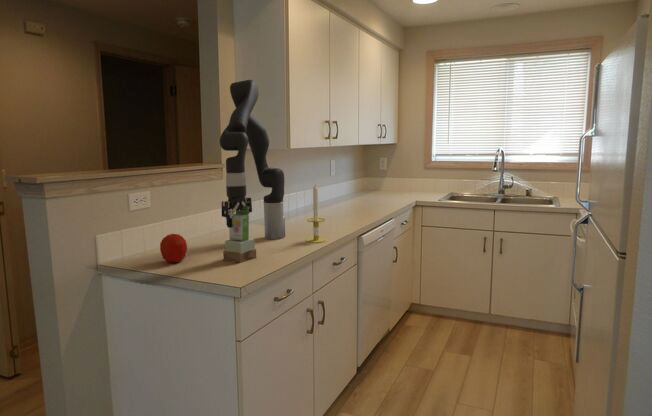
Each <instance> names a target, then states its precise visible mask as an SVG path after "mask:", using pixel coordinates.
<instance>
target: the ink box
mask: <svg viewBox="0 0 652 416" xmlns="http://www.w3.org/2000/svg"><path fill="white" fill-rule="evenodd" d="M249 214H250V213H249V206H246V211H241V210H238V211H235V213H234V214H233V216H232V223H233V227H232V228H228V229H229V237H228V238H229V239H228V240H230V239H233V240H240V241H246V240H249V232H250V231H249V229H250V228H249V227H250V215H249Z"/></svg>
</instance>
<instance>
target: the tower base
mask: <svg viewBox="0 0 652 416" xmlns="http://www.w3.org/2000/svg"><path fill="white" fill-rule="evenodd" d="M222 253H223V261H226V262H232V263H238V264H242V263H244V262H248V261H252V260H255V259H257V249H256V248H255V249H253V250H250V251H246V252H243V253H236V252H230V251H226V249H225V250H223V251H222Z"/></svg>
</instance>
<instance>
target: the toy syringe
mask: <svg viewBox="0 0 652 416" xmlns="http://www.w3.org/2000/svg"><path fill="white" fill-rule="evenodd" d="M318 190H319V189H318V187H317V183H314V186H313V187H312V197H313V198H312V201H313V202H312V203H313V207H312V209H313V217H312V218H311V217H310V218H307V219H306V222H309V223H312V225H313V226H312V227H313V228H312V229H313V231H312V232H313V237H309V238H306V239H305V242H306V243H309V244H320V243H321V244H322V243H326V242H327V241H328V240H327V238H325V237H320V229H319V228H320V226H319V225H320V224H319V223H322V222H325V221H326V219H325V218H322V217H321V218H320V217H319V191H318Z"/></svg>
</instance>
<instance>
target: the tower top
mask: <svg viewBox="0 0 652 416" xmlns="http://www.w3.org/2000/svg"><path fill="white" fill-rule="evenodd" d="M224 243H225V244H224V245H225V250H226V251H230V252H236V253H243V252H246V251H250V250H253V249H256V248H255V245H256V244H255V239H254V238H249V240H246V241H240V240H233V239H227V240H225V241H224Z"/></svg>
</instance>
